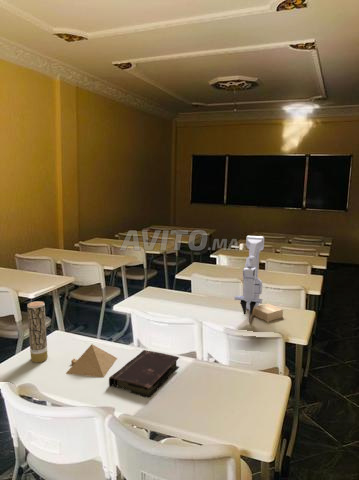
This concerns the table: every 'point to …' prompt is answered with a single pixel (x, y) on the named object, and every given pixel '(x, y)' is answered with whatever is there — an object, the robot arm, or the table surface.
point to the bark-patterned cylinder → (37, 331)
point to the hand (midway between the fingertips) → (247, 314)
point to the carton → (267, 312)
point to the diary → (145, 373)
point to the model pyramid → (92, 363)
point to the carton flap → (250, 316)
